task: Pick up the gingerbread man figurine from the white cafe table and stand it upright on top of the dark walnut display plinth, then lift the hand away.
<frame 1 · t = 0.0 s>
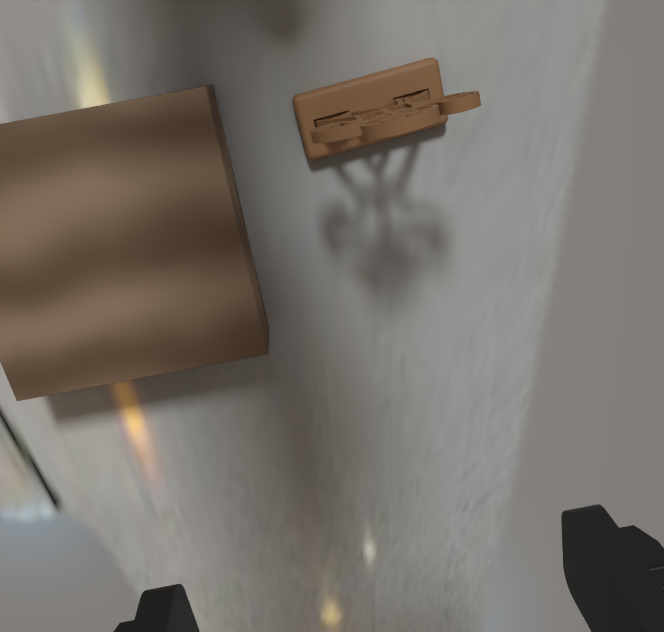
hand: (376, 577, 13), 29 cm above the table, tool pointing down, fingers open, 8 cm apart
gingerbread man figurine: (369, 109, 37), on the table
walnut plinth: (120, 239, 39), on the table
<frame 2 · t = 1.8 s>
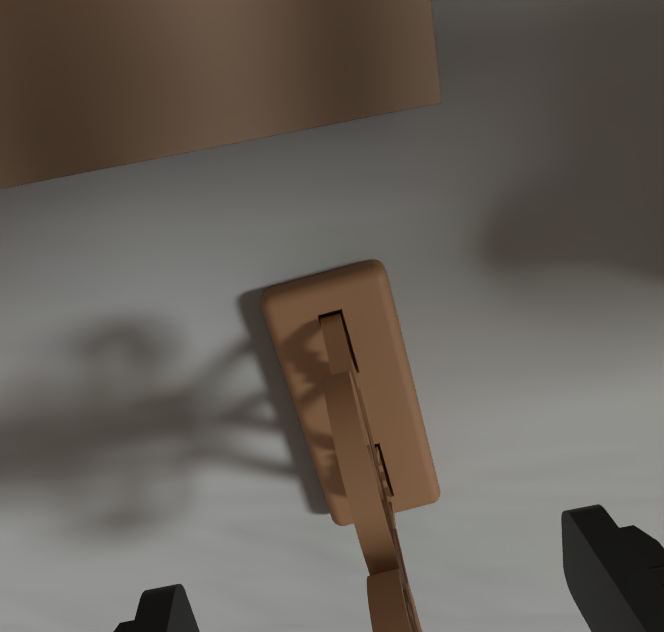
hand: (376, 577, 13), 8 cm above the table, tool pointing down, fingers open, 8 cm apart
gingerbread man figurine: (354, 392, 20), on the table
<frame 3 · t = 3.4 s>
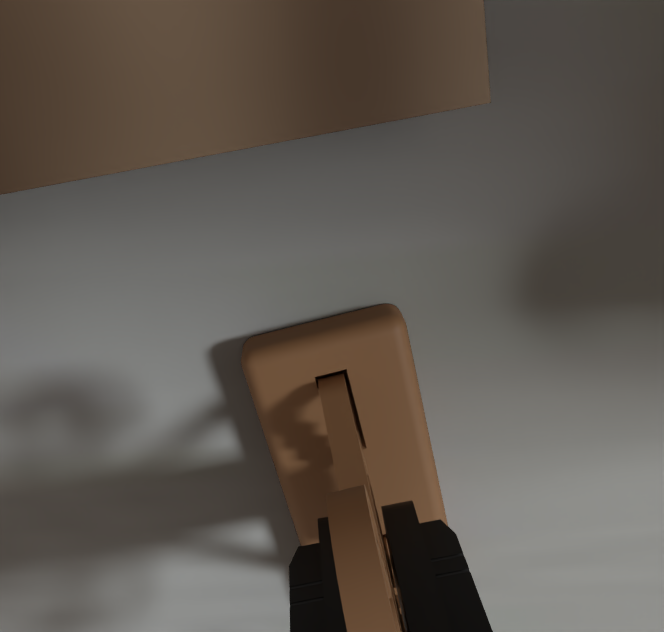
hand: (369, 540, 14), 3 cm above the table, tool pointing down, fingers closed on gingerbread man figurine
gingerbread man figurine: (357, 466, 16), on the table, touching gripper
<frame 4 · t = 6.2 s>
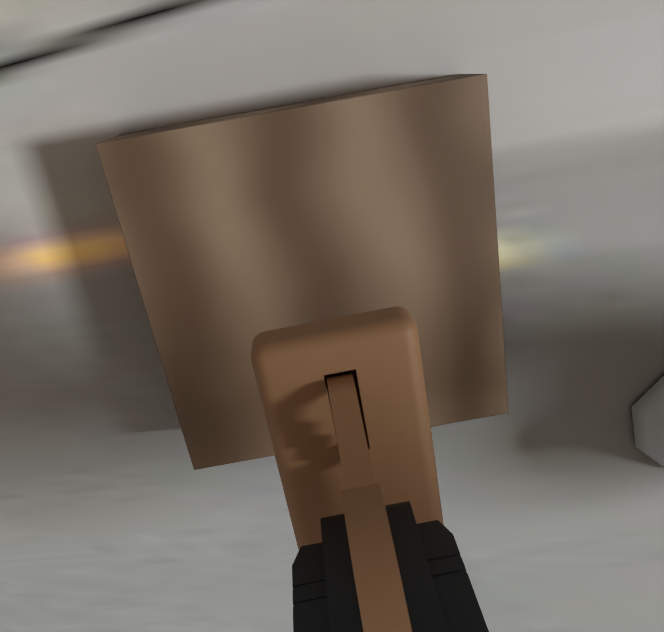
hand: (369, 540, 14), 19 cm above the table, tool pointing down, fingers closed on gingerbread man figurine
gingerbread man figurine: (357, 467, 16), point 16 cm above the table, touching gripper
walnut plinth: (320, 267, 31), on the table
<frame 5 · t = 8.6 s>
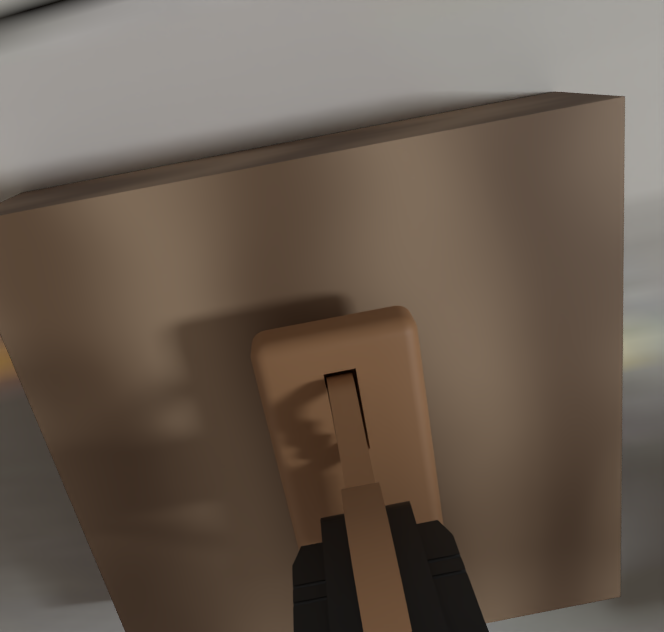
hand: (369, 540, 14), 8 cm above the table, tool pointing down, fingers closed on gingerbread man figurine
gingerbread man figurine: (357, 466, 16), point 5 cm above the table, touching gripper
walnut plinth: (334, 378, 21), on the table
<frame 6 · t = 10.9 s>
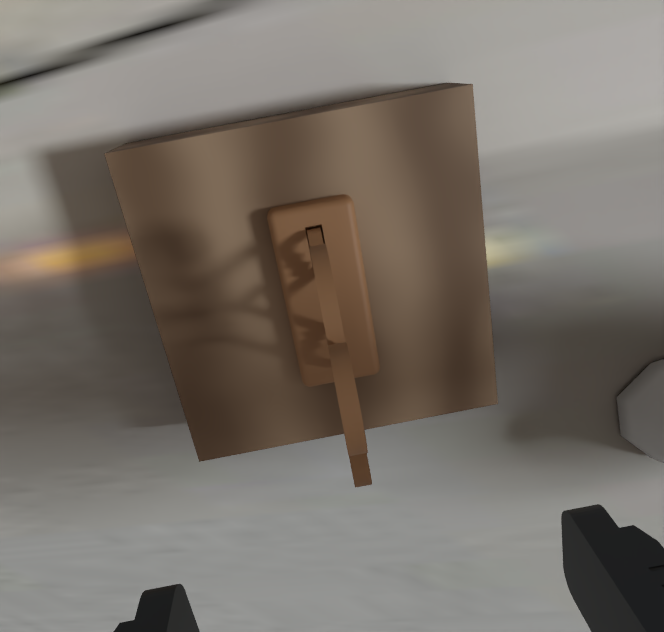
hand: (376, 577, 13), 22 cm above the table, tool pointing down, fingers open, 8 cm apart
gingerbread man figurine: (325, 290, 29), point 4 cm above the table, touching walnut plinth
walnut plinth: (317, 267, 33), on the table
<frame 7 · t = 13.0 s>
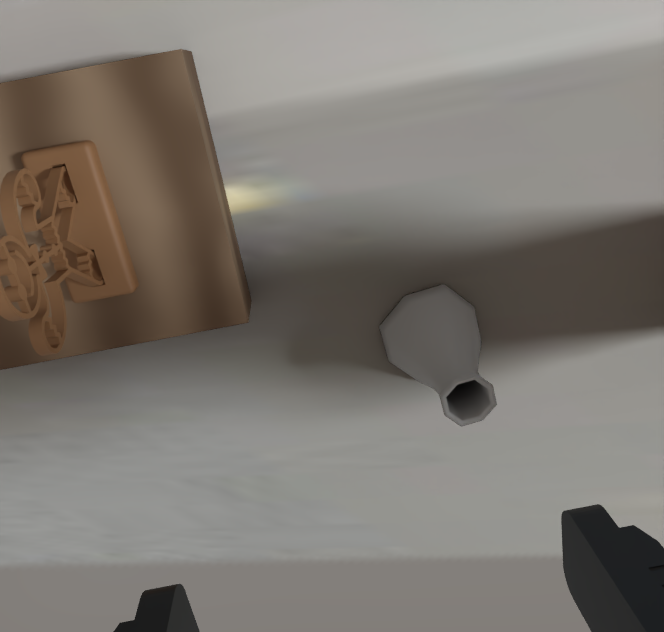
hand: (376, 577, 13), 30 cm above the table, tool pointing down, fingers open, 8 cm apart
gingerbread man figurine: (85, 222, 36), point 4 cm above the table, touching walnut plinth
walnut plinth: (100, 208, 39), on the table
flask: (429, 331, 44), on the table
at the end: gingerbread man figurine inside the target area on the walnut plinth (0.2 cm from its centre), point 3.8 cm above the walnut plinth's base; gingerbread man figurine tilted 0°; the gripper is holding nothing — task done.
